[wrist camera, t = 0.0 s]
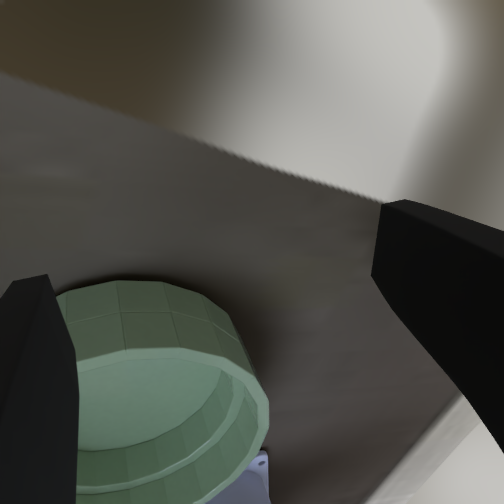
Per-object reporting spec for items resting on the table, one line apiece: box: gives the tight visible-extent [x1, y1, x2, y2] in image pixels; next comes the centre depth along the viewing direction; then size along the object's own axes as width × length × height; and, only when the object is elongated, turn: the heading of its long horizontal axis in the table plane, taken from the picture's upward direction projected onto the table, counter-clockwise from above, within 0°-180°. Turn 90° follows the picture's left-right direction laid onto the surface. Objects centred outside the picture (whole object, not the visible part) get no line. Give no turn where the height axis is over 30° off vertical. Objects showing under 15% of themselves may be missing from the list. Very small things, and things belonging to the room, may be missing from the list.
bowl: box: [56, 280, 269, 504], centre depth 22 cm, size 13×13×5 cm
